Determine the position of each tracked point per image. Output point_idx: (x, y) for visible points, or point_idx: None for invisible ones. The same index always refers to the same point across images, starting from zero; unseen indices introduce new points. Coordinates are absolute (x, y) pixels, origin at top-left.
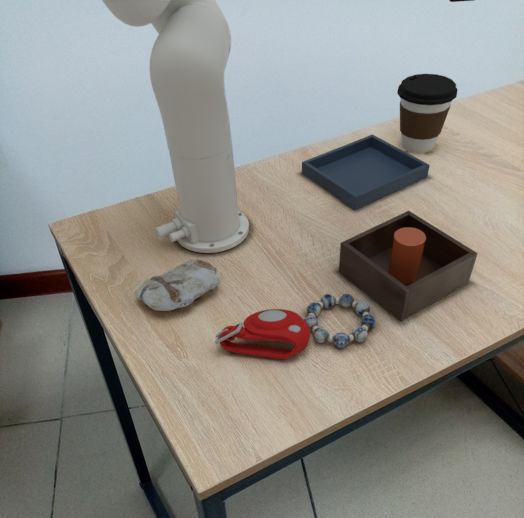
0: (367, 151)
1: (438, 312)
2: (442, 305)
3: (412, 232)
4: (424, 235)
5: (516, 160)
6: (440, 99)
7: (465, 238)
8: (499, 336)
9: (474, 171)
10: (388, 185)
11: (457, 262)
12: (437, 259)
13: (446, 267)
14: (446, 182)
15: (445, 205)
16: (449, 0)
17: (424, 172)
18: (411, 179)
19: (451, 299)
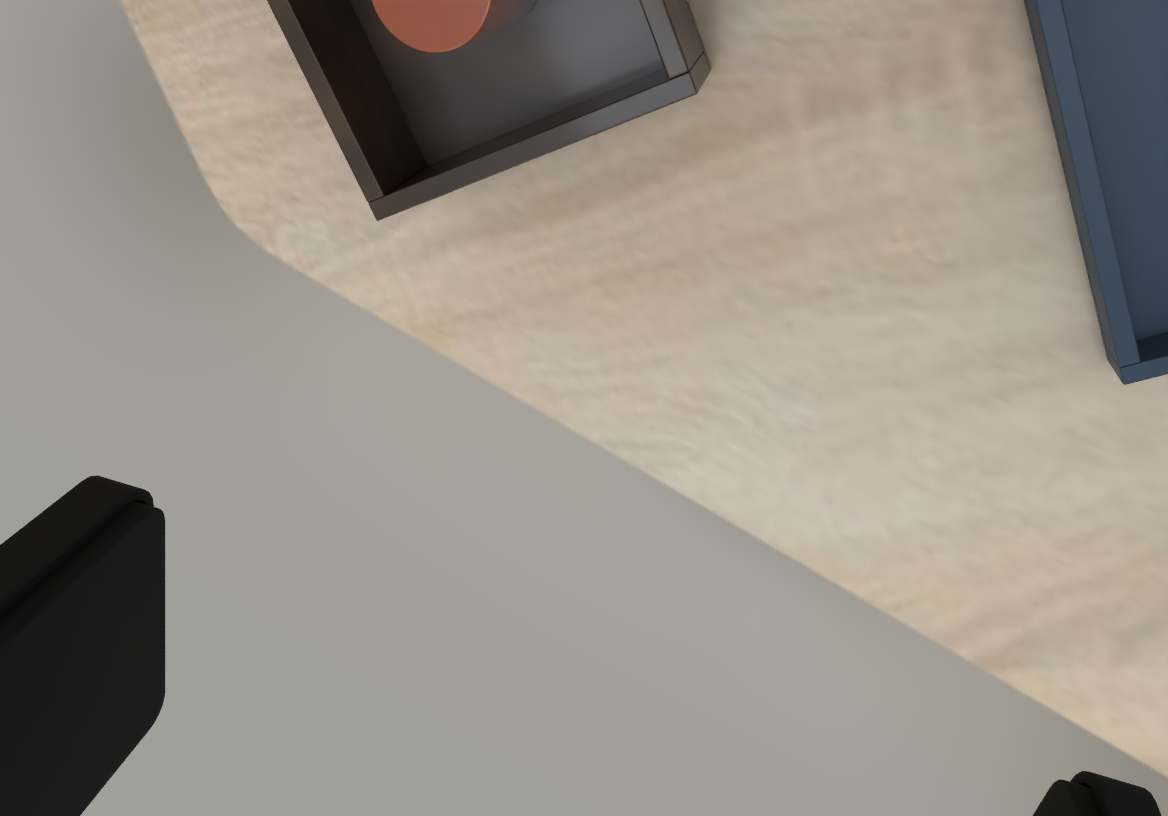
0: None
1: None
2: None
3: (451, 5)
4: (423, 47)
5: (1048, 697)
6: None
7: (652, 294)
8: (197, 157)
9: (1053, 539)
10: (1065, 143)
11: (338, 128)
12: (522, 128)
13: (316, 77)
14: (1029, 409)
15: (874, 328)
16: (101, 477)
17: (1111, 350)
18: (1093, 276)
19: None
